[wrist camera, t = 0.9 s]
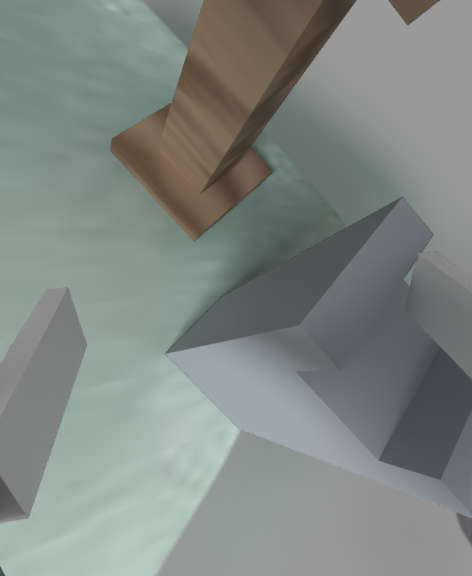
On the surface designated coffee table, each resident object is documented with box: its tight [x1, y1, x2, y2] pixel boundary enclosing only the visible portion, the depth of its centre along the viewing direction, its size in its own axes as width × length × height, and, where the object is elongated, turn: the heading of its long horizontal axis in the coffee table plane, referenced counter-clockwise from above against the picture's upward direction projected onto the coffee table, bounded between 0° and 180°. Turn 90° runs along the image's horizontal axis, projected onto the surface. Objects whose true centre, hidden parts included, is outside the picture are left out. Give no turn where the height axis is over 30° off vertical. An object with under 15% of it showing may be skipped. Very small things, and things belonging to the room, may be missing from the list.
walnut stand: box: [111, 0, 440, 241], centre depth 25 cm, size 12×14×28 cm
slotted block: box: [165, 197, 472, 518], centre depth 24 cm, size 8×10×23 cm
